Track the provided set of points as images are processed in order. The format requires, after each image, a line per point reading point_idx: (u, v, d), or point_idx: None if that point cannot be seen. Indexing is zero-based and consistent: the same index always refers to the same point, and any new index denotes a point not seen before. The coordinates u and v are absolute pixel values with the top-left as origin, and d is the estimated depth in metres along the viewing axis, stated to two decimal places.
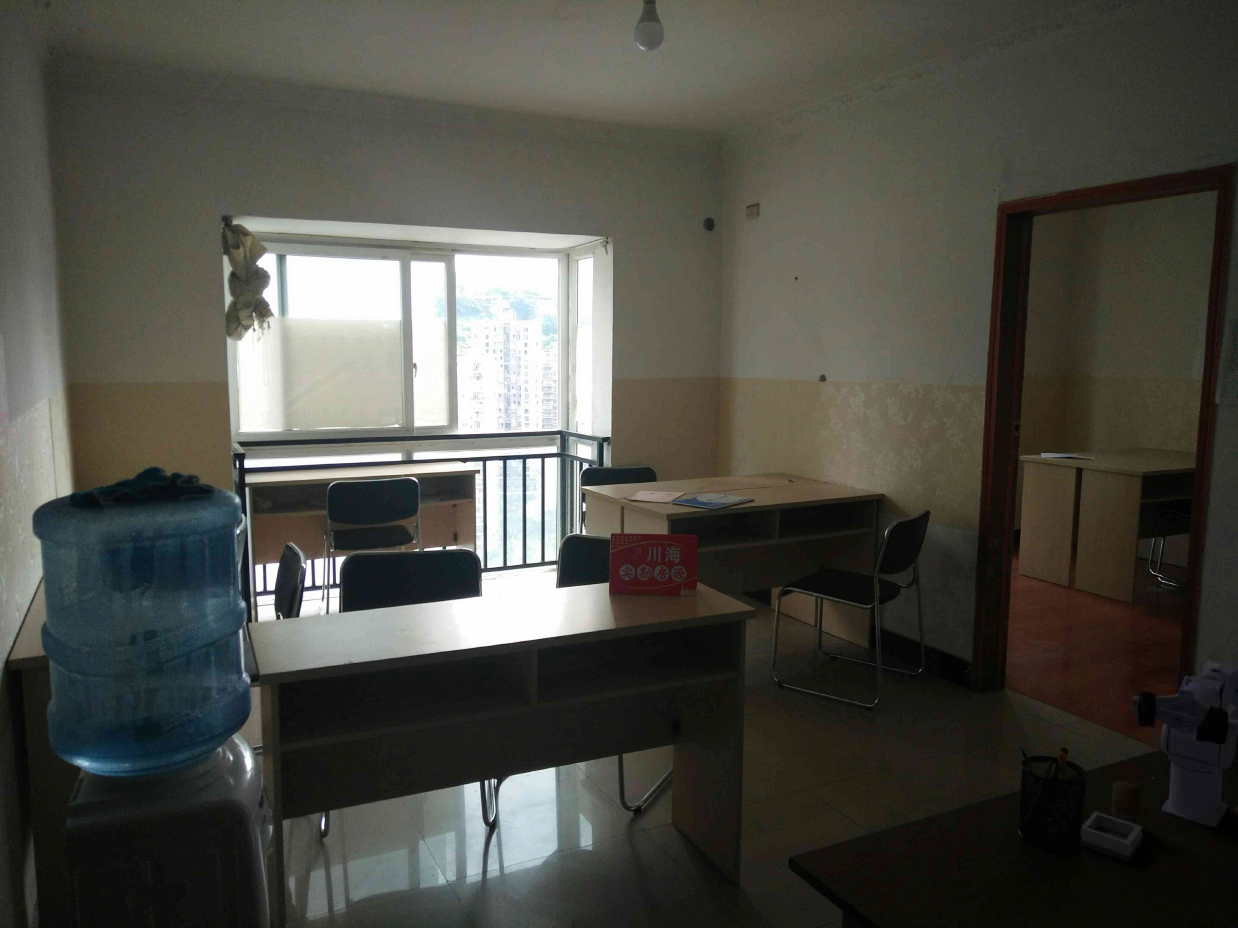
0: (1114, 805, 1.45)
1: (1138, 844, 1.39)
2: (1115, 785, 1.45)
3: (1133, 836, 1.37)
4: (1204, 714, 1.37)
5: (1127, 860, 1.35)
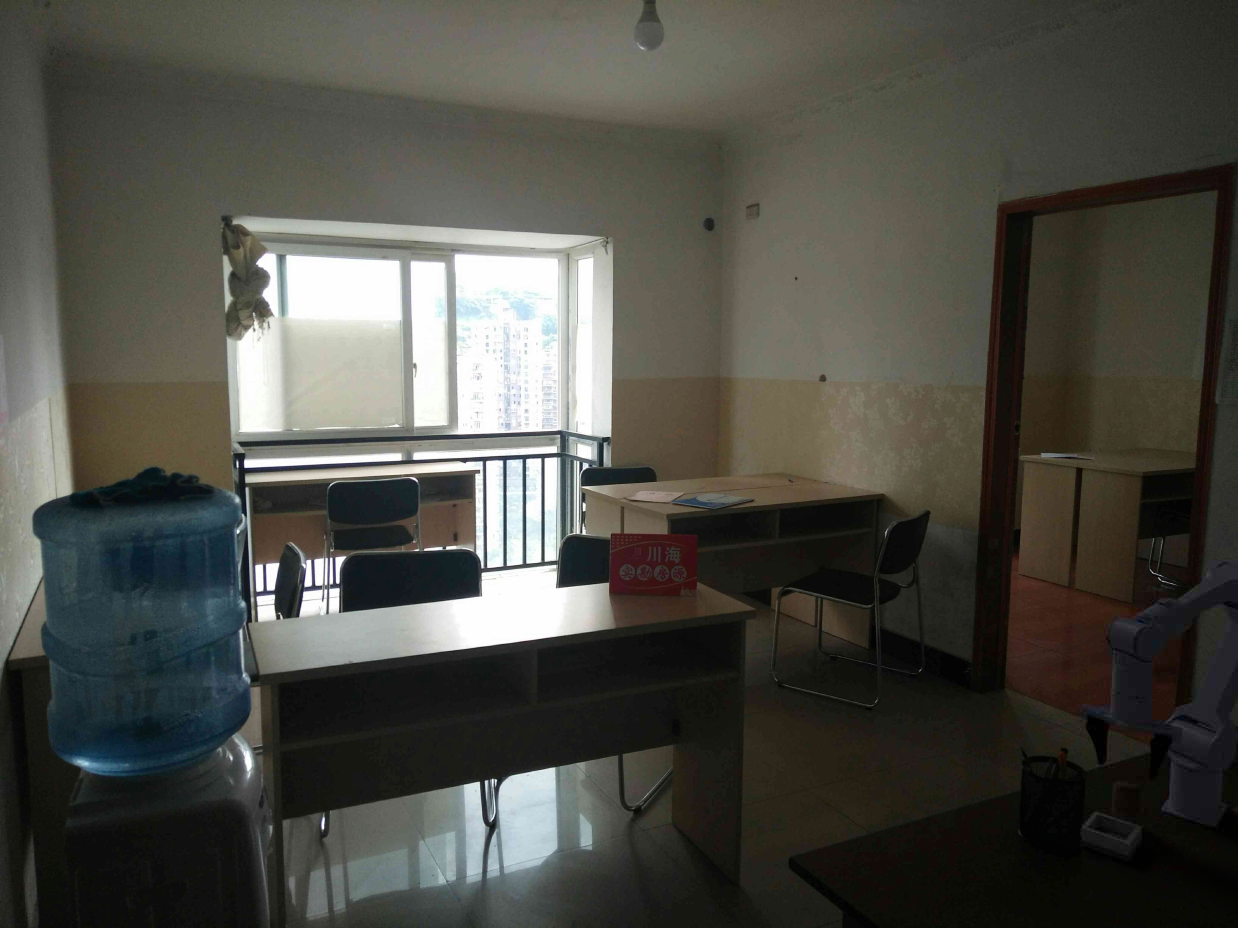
0: (1114, 805, 1.45)
1: (1138, 844, 1.39)
2: (1115, 785, 1.45)
3: (1133, 836, 1.37)
4: None
5: (1127, 860, 1.35)
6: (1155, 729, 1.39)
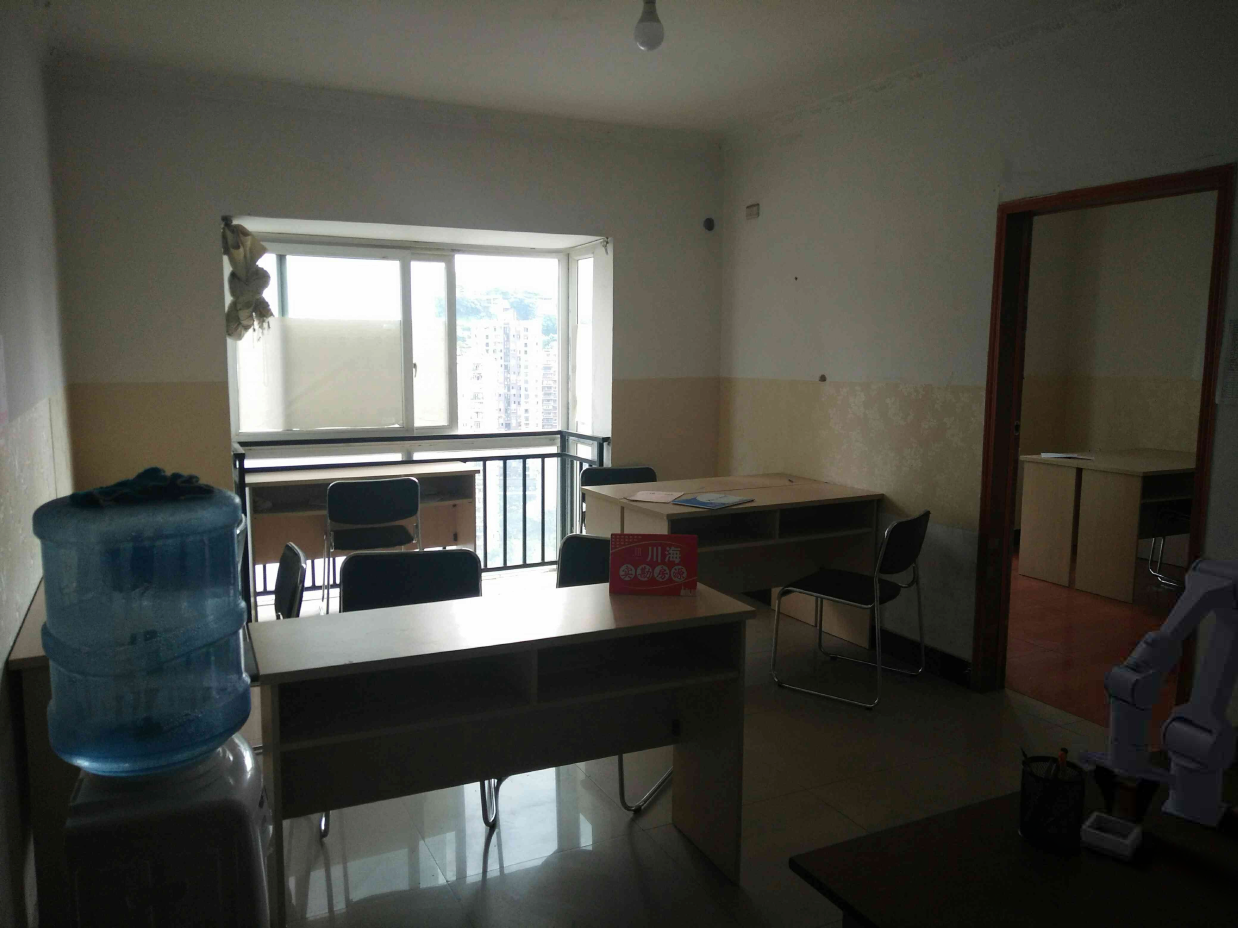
0: (1114, 805, 1.45)
1: (1138, 844, 1.39)
2: (1115, 785, 1.45)
3: (1133, 836, 1.37)
4: None
5: (1127, 860, 1.35)
6: (1152, 777, 1.40)
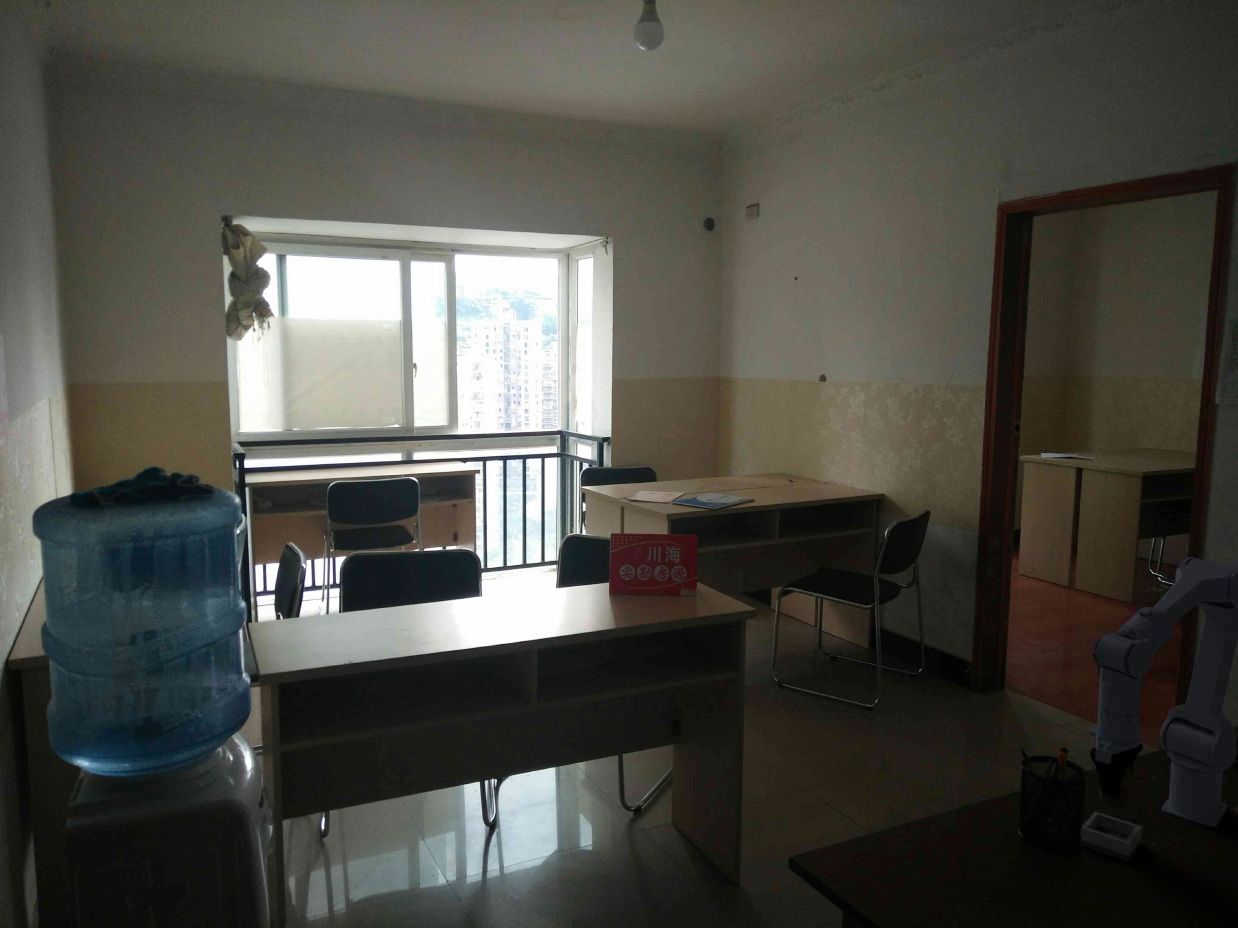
0: None
1: (1138, 844, 1.39)
2: None
3: (1133, 836, 1.37)
4: None
5: (1127, 860, 1.35)
6: None
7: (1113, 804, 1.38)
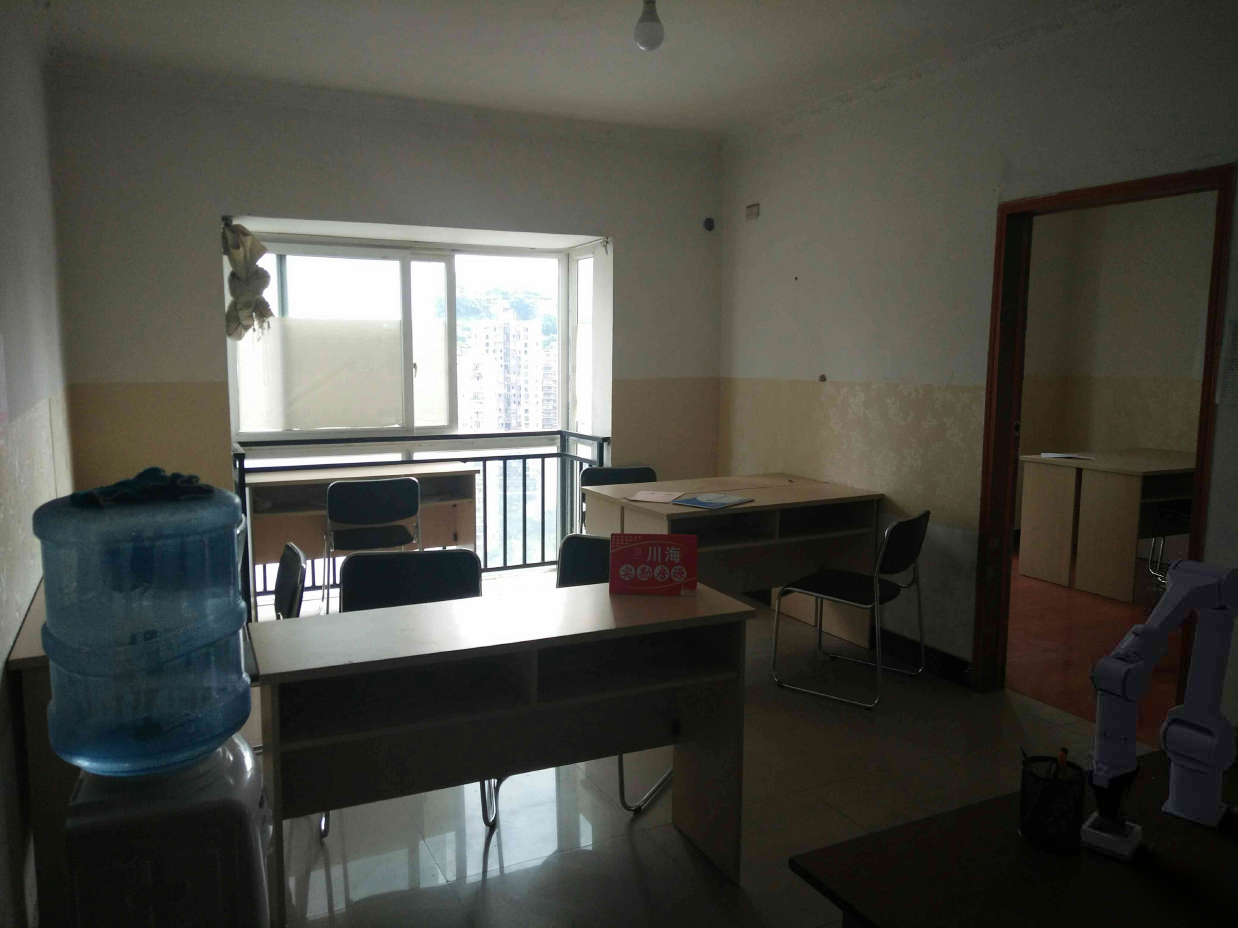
0: None
1: (1138, 844, 1.39)
2: None
3: (1133, 836, 1.37)
4: None
5: (1127, 860, 1.35)
6: (1094, 765, 1.37)
7: (1111, 827, 1.38)
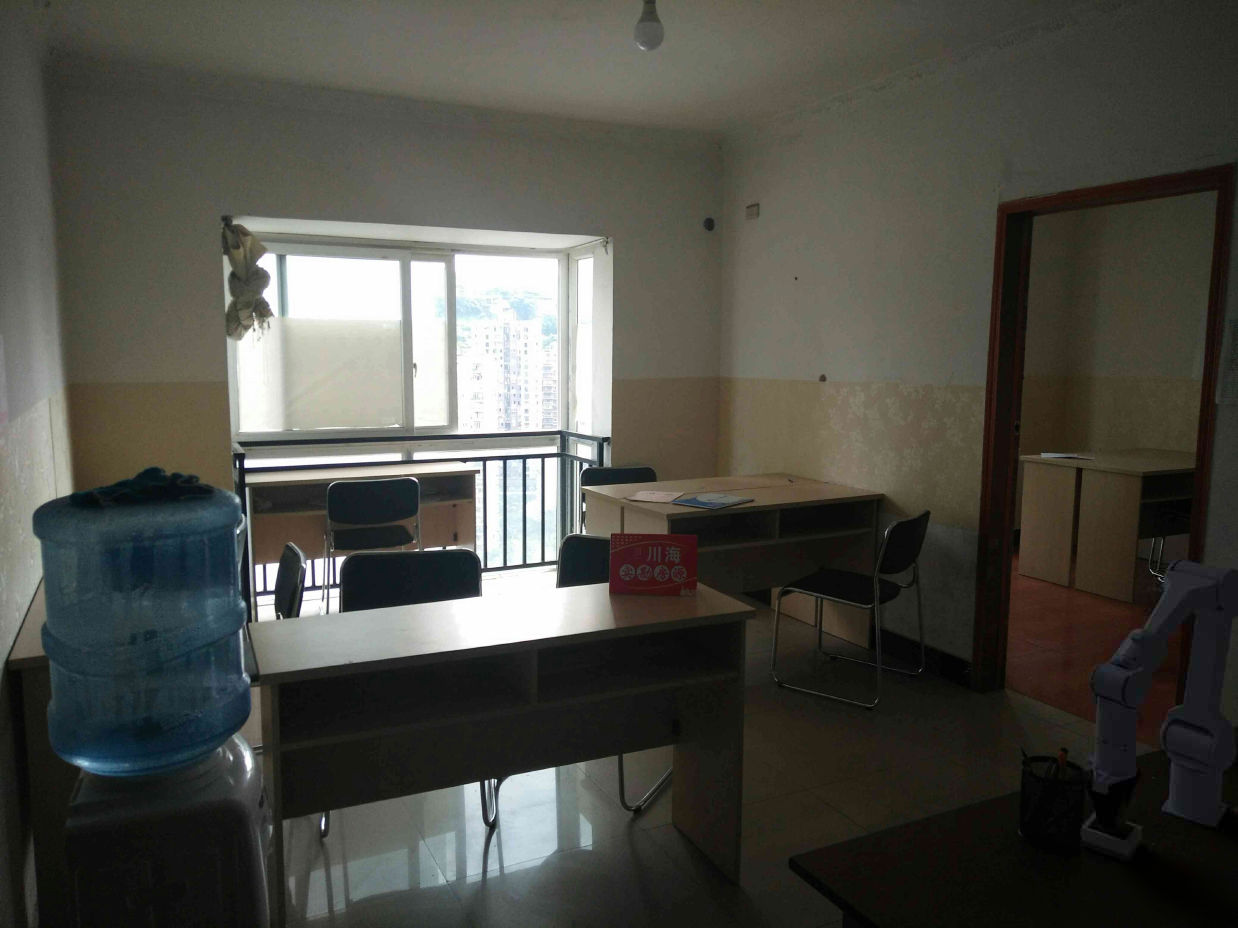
0: None
1: (1138, 844, 1.39)
2: None
3: (1133, 836, 1.37)
4: None
5: (1127, 860, 1.35)
6: (1094, 772, 1.37)
7: None
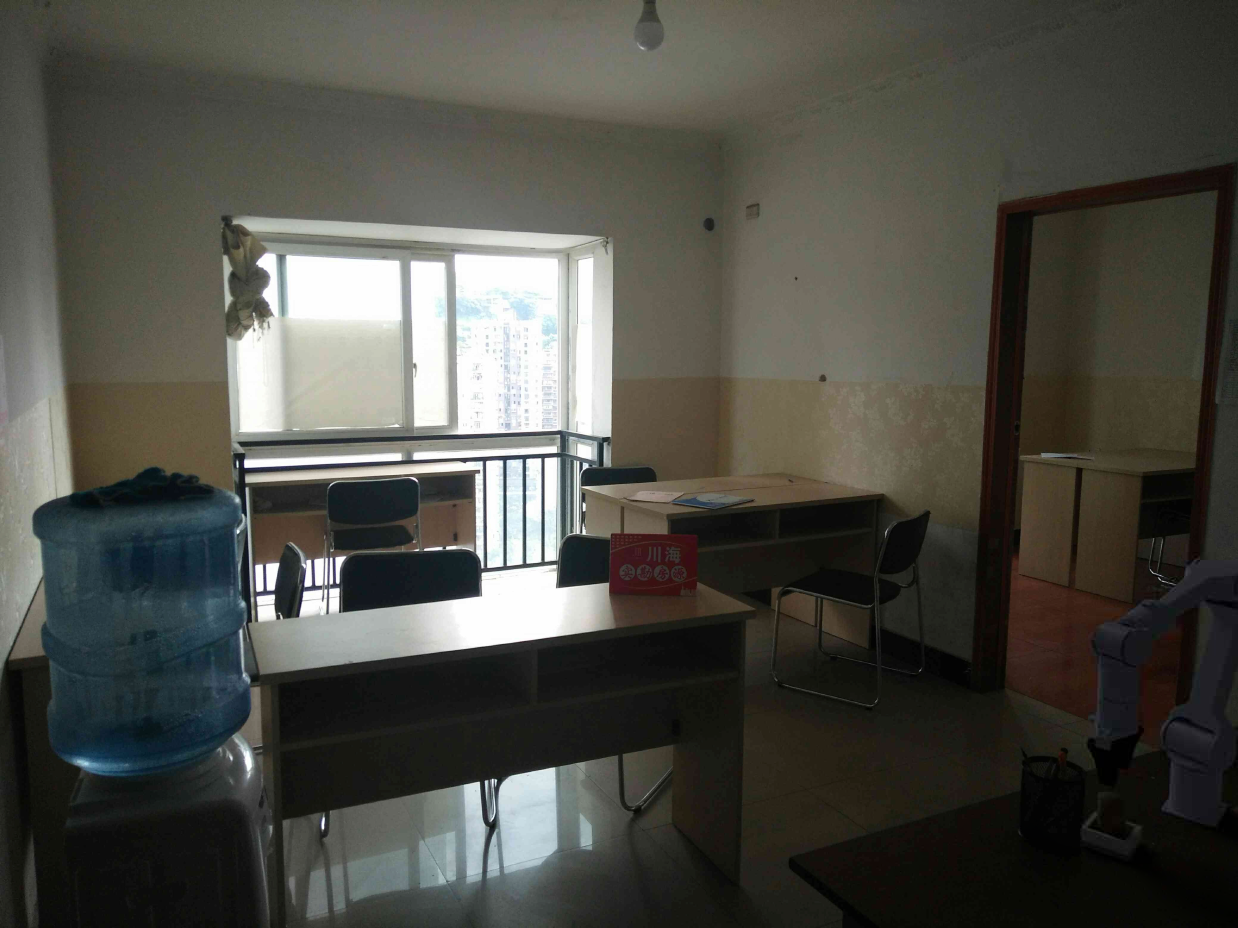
0: None
1: (1138, 844, 1.39)
2: (1110, 792, 1.41)
3: (1133, 836, 1.37)
4: None
5: (1127, 860, 1.35)
6: (1096, 729, 1.39)
7: None
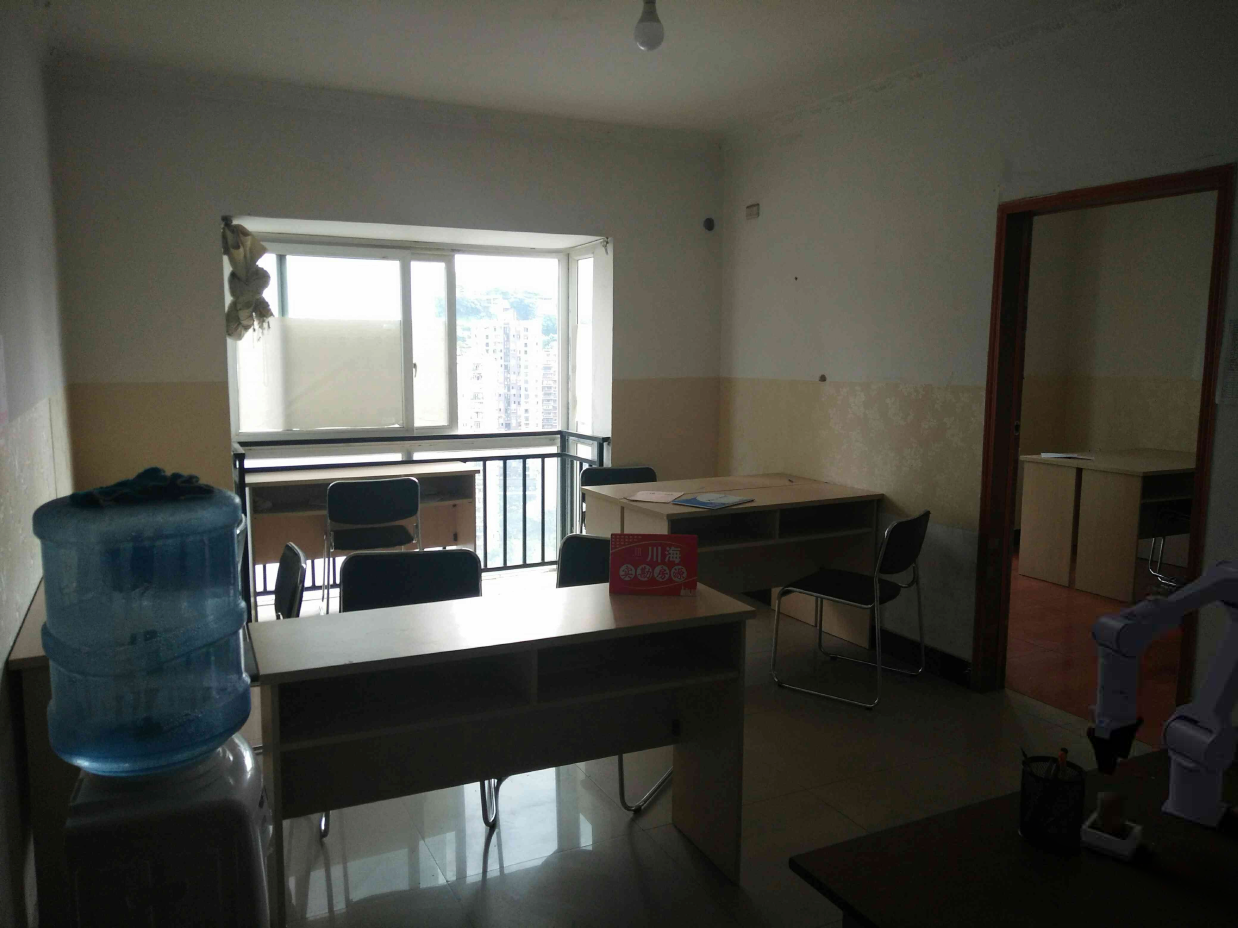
0: None
1: (1138, 844, 1.39)
2: (1110, 792, 1.41)
3: (1133, 836, 1.37)
4: None
5: (1127, 860, 1.35)
6: (1096, 719, 1.42)
7: None
